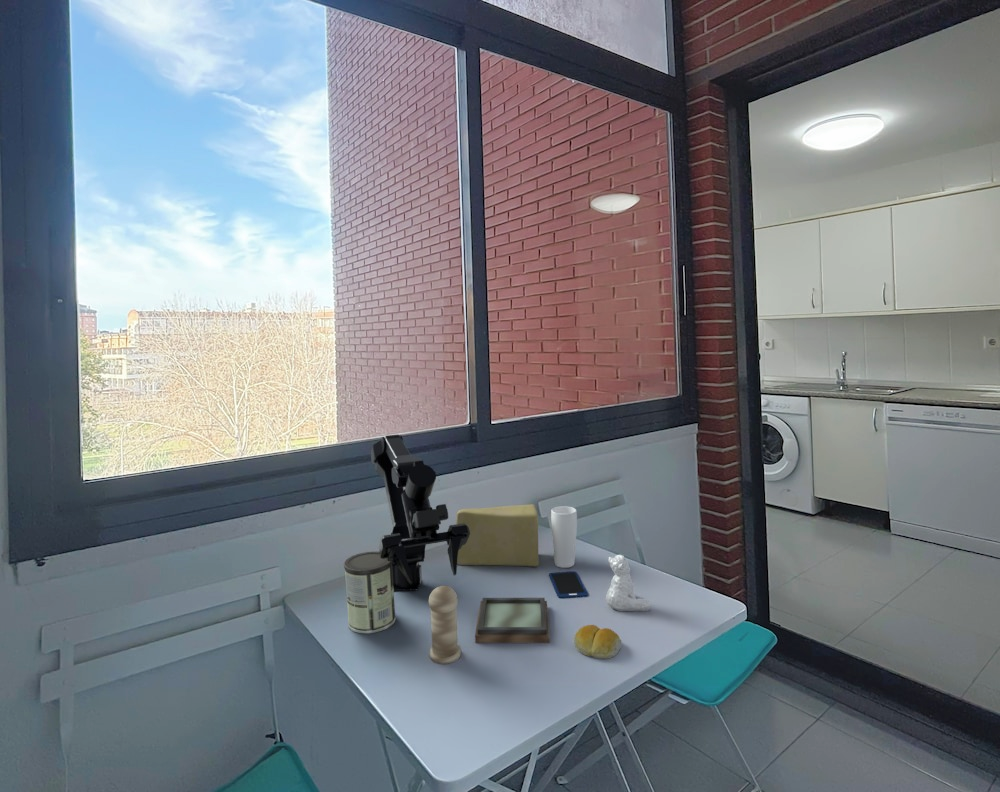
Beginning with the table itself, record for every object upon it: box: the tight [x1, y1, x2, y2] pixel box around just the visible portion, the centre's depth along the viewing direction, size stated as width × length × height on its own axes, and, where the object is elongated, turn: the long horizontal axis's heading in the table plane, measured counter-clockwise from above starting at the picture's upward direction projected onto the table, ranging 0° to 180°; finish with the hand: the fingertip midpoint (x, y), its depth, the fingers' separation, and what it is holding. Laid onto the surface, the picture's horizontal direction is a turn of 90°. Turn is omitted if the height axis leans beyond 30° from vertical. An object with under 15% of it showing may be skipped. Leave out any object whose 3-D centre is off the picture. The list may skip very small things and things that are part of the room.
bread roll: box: [574, 624, 622, 660], centre depth 117 cm, size 8×9×4 cm
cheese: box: [455, 503, 540, 567], centre depth 160 cm, size 22×10×15 cm, turn 92°
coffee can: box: [343, 551, 396, 634], centre depth 129 cm, size 10×10×14 cm
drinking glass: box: [550, 505, 578, 569], centre depth 157 cm, size 7×7×15 cm
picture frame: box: [474, 597, 550, 644], centre depth 127 cm, size 15×15×2 cm
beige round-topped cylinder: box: [428, 585, 462, 665], centre depth 115 cm, size 6×6×14 cm
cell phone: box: [548, 570, 589, 599], centre depth 146 cm, size 7×14×1 cm, turn 5°
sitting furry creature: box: [605, 554, 651, 612], centre depth 134 cm, size 10×9×12 cm
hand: (433, 578), depth 121 cm, fingers open, 9 cm apart
